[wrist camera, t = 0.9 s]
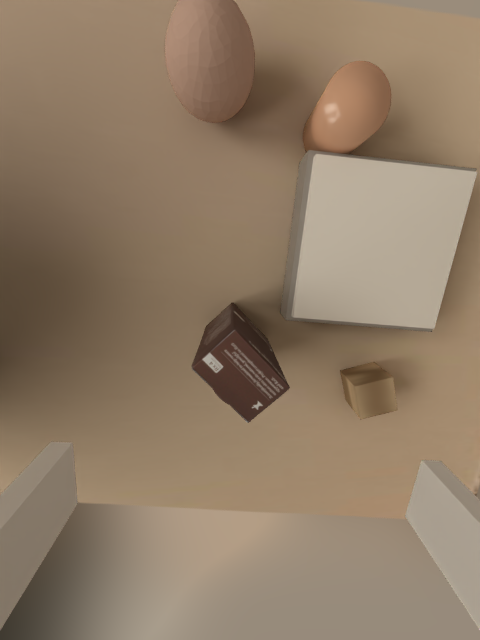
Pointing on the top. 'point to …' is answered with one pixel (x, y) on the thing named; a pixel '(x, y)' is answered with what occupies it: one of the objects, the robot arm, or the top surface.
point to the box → (239, 364)
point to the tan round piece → (348, 109)
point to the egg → (210, 58)
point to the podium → (373, 240)
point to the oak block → (369, 390)
